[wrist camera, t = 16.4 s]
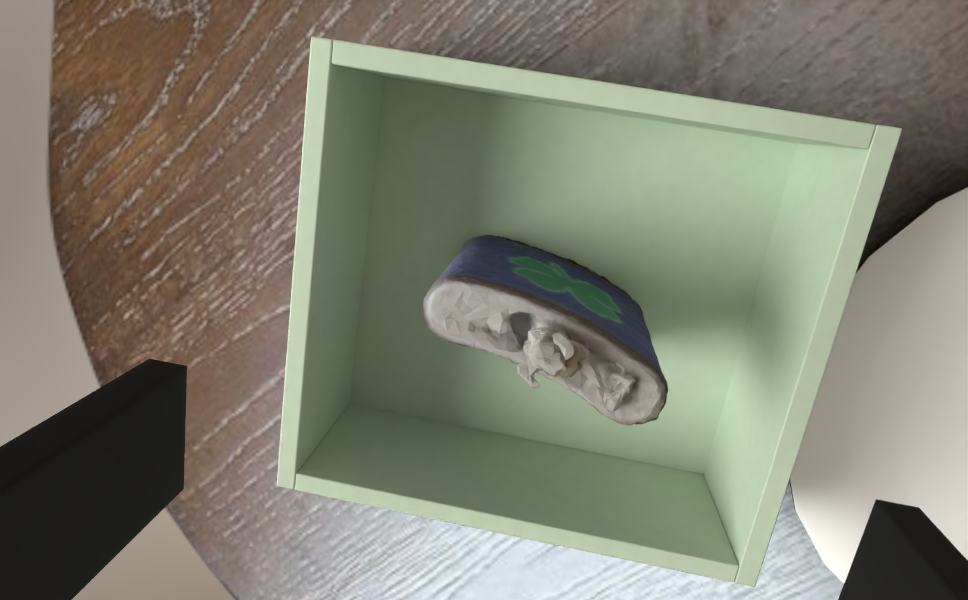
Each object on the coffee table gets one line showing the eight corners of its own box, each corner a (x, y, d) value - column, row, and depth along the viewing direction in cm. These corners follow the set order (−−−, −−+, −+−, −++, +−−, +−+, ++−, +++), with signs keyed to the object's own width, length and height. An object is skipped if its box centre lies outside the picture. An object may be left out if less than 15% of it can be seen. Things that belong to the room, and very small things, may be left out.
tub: (338, 408, 35) (275, 486, 27) (374, 57, 30) (310, 35, 22) (712, 482, 33) (755, 587, 26) (814, 127, 28) (903, 128, 21)
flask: (452, 271, 31) (397, 343, 21) (477, 214, 30) (433, 261, 20) (628, 354, 31) (660, 467, 21) (658, 300, 30) (707, 390, 20)
